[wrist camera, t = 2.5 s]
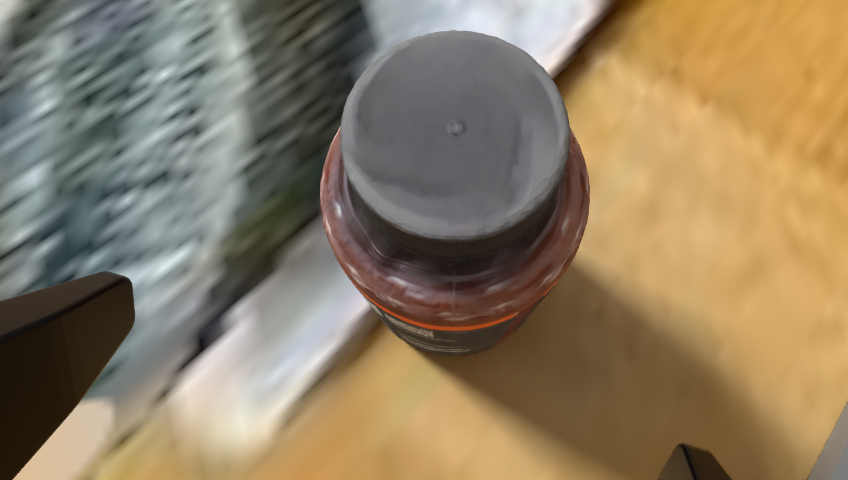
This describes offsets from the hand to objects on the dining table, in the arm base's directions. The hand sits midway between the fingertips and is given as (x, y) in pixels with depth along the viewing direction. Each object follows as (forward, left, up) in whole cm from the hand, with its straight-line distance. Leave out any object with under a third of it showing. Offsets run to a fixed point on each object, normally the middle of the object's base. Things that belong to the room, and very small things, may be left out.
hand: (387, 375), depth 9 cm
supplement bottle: (+4, +1, -11) cm, 12 cm away
